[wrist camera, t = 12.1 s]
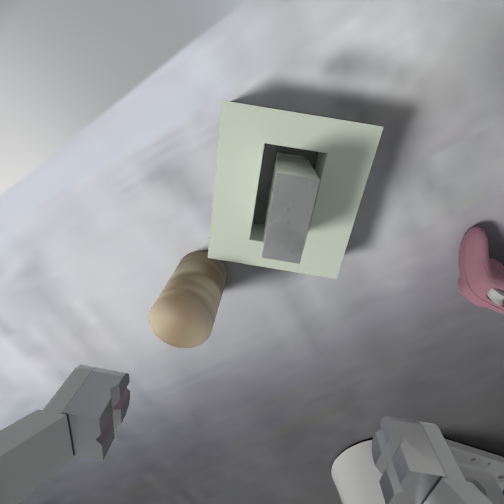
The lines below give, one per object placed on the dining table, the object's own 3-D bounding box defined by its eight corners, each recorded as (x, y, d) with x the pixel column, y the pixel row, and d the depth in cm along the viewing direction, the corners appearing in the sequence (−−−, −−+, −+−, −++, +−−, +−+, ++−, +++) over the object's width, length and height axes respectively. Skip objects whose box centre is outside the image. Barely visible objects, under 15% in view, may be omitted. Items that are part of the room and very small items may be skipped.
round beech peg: (229, 255, 30) (214, 302, 23) (224, 297, 32) (209, 352, 25) (179, 247, 30) (148, 291, 23) (177, 289, 32) (148, 342, 25)
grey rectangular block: (306, 156, 26) (320, 179, 18) (292, 218, 28) (299, 264, 20) (276, 152, 26) (276, 173, 18) (265, 214, 28) (261, 257, 20)
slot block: (367, 123, 24) (383, 126, 21) (329, 257, 29) (336, 278, 26) (230, 101, 24) (222, 100, 21) (215, 239, 29) (207, 257, 26)
